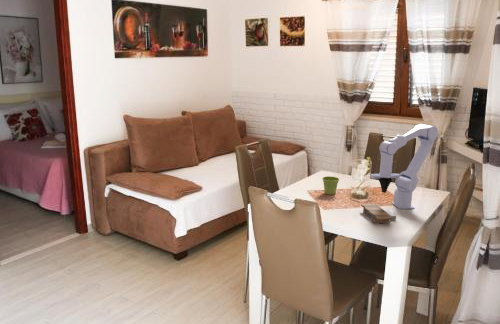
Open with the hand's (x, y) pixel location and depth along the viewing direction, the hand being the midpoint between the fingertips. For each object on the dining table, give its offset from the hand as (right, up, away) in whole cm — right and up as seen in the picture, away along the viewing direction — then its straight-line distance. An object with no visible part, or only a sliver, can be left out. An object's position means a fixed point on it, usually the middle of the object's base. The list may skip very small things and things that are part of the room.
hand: (383, 192), depth 227 cm
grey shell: (-3, -12, -8) cm, 15 cm away
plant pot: (-22, -3, +28) cm, 36 cm away
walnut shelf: (-6, -12, -9) cm, 16 cm away
